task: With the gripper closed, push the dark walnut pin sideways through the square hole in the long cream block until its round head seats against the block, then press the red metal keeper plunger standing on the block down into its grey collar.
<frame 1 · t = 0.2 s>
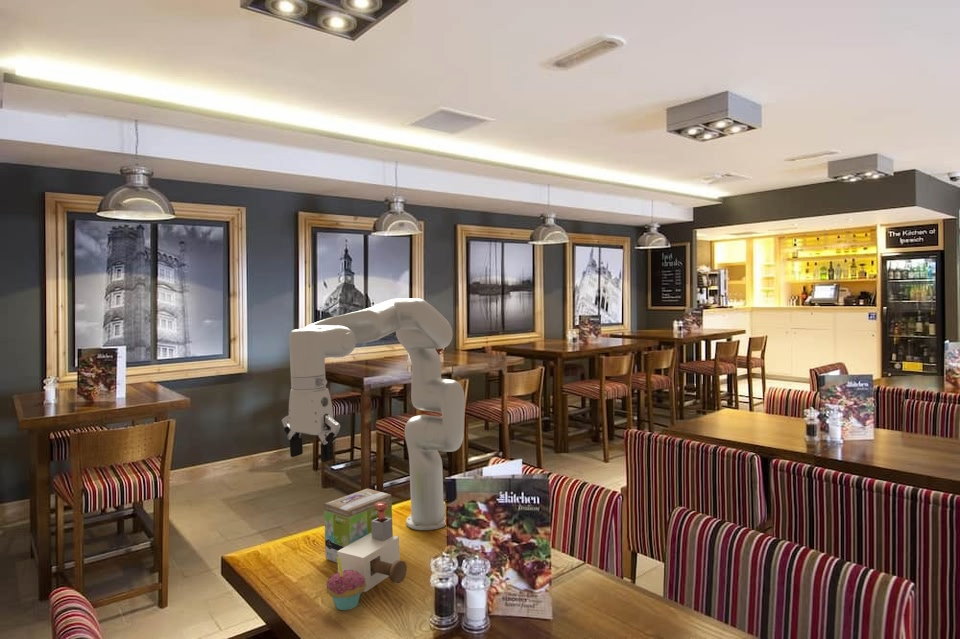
hand: (311, 458, 140), 31 cm above the table, tool pointing down, fingers open, 9 cm apart
keeper plunger: (381, 514, 150), point 14 cm above the table, slide at 0.0 cm
tea box: (360, 554, 161), on the table
pin: (377, 566, 143), point 5 cm above the table, slide at 0.0 cm
cupcake: (346, 605, 135), on the table
block: (370, 576, 147), on the table
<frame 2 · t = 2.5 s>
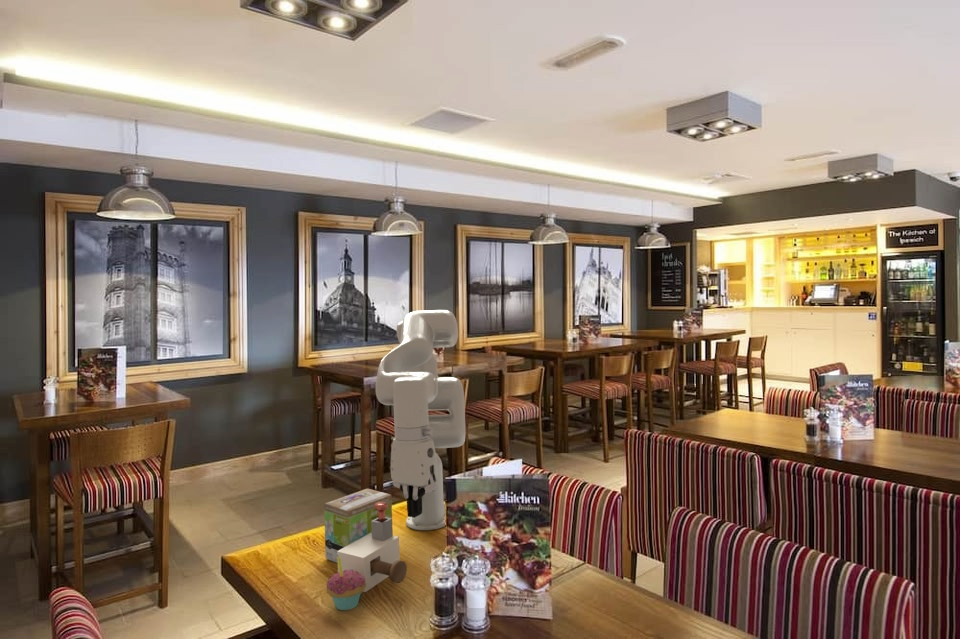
hand: (414, 515, 136), 19 cm above the table, tool pointing down, fingers closed
nothing on the table moved.
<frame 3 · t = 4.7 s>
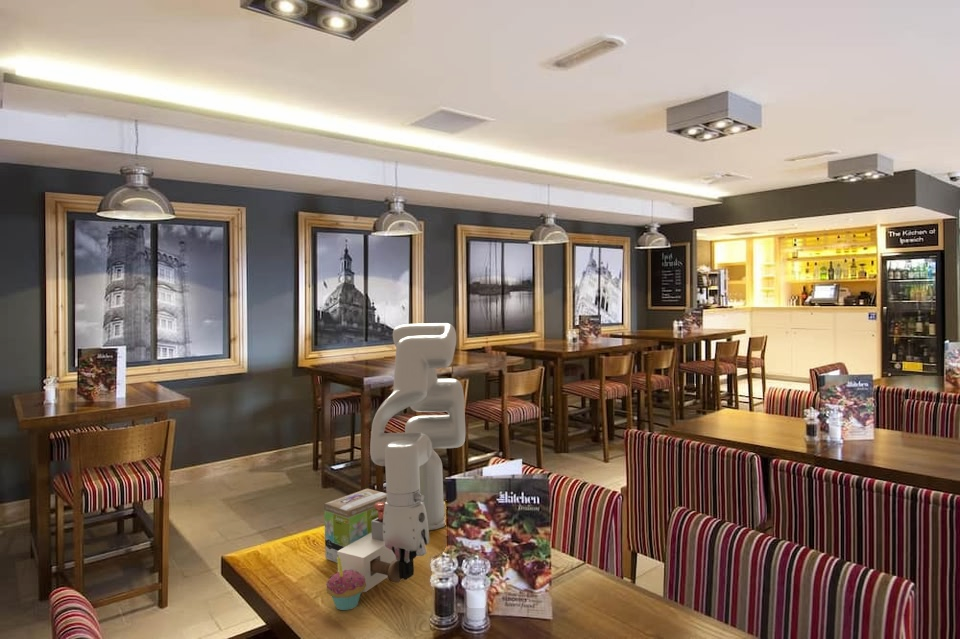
hand: (406, 576, 139), 4 cm above the table, tool pointing down, fingers closed
pin: (375, 565, 143), point 5 cm above the table, slide at 0.5 cm, touching gripper
everything else where it was.
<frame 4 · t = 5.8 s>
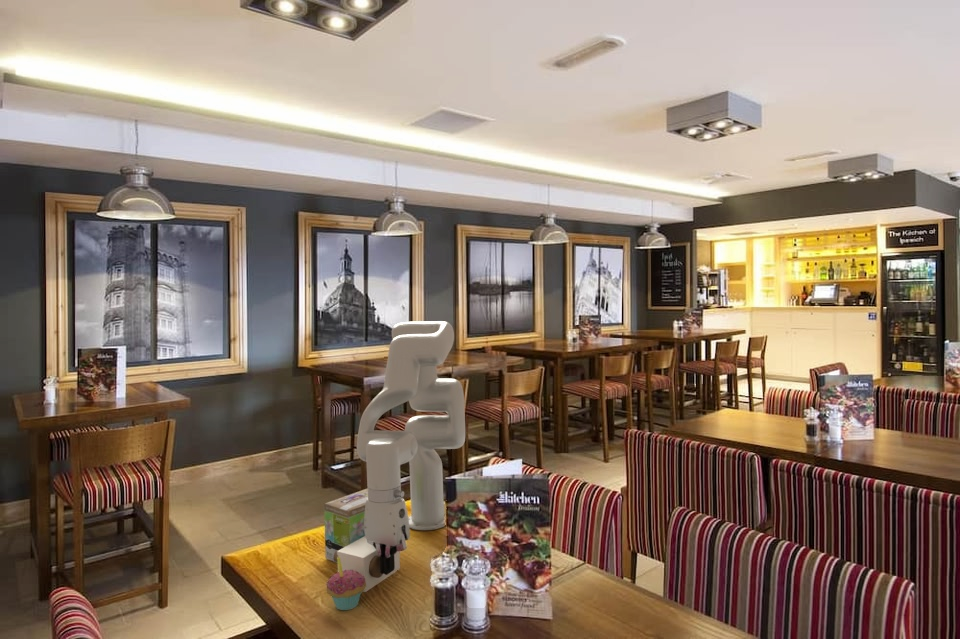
hand: (387, 571, 141), 4 cm above the table, tool pointing down, fingers closed
pin: (358, 561, 146), point 5 cm above the table, slide at 5.9 cm, touching gripper
everything else where it was.
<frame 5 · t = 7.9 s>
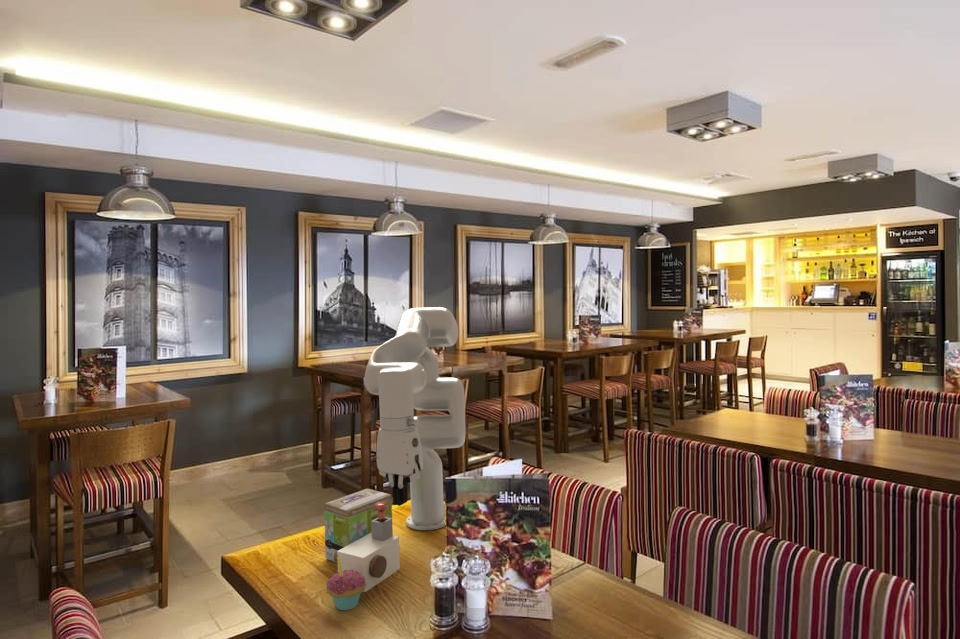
hand: (400, 503, 138), 20 cm above the table, tool pointing down, fingers closed
pin: (358, 561, 146), point 5 cm above the table, slide at 5.8 cm
everything else where it was.
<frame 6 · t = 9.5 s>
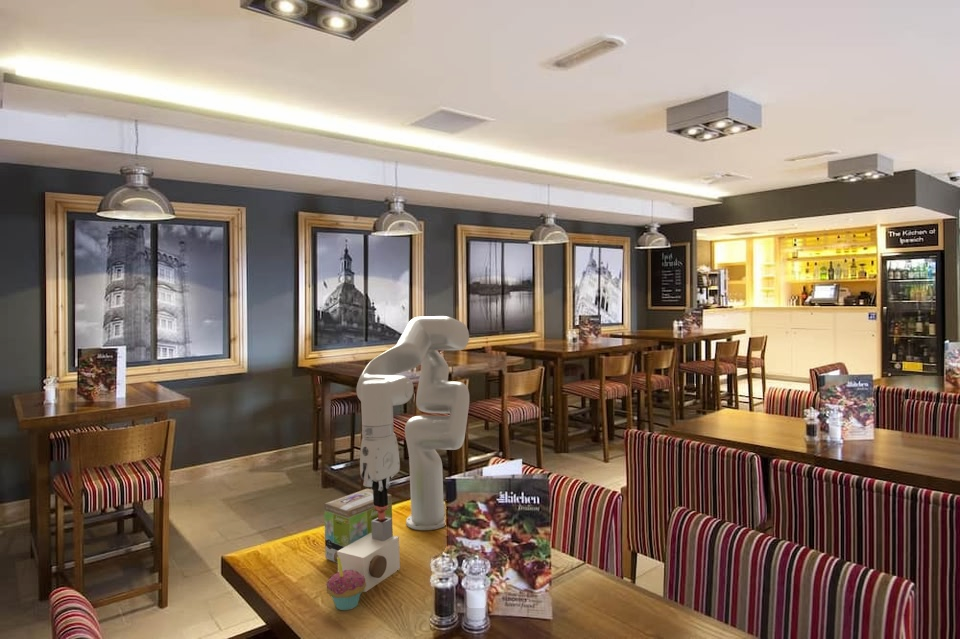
hand: (380, 505, 150), 16 cm above the table, tool pointing down, fingers closed
keeper plunger: (381, 515, 150), point 13 cm above the table, slide at 0.2 cm, touching gripper
everything else where it was.
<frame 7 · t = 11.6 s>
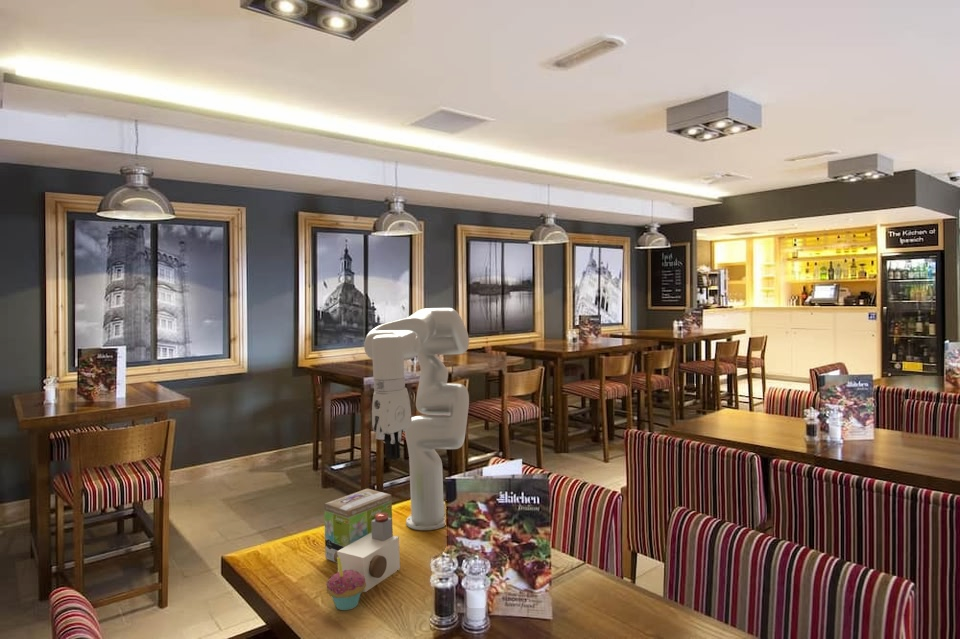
hand: (393, 457, 152), 27 cm above the table, tool pointing down, fingers closed
keeper plunger: (381, 525, 150), point 11 cm above the table, slide at 2.7 cm
everything else where it was.
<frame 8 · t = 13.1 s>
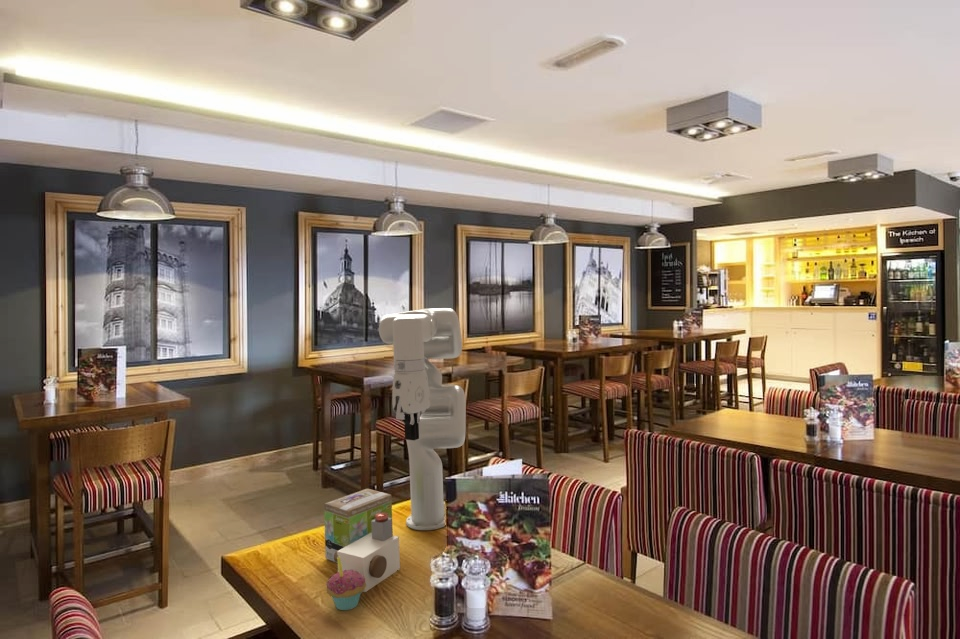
hand: (412, 439, 154), 31 cm above the table, tool pointing down, fingers closed
nothing on the table moved.
at the end: pin slide at 5.8 cm; keeper plunger slide at 2.7 cm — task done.
